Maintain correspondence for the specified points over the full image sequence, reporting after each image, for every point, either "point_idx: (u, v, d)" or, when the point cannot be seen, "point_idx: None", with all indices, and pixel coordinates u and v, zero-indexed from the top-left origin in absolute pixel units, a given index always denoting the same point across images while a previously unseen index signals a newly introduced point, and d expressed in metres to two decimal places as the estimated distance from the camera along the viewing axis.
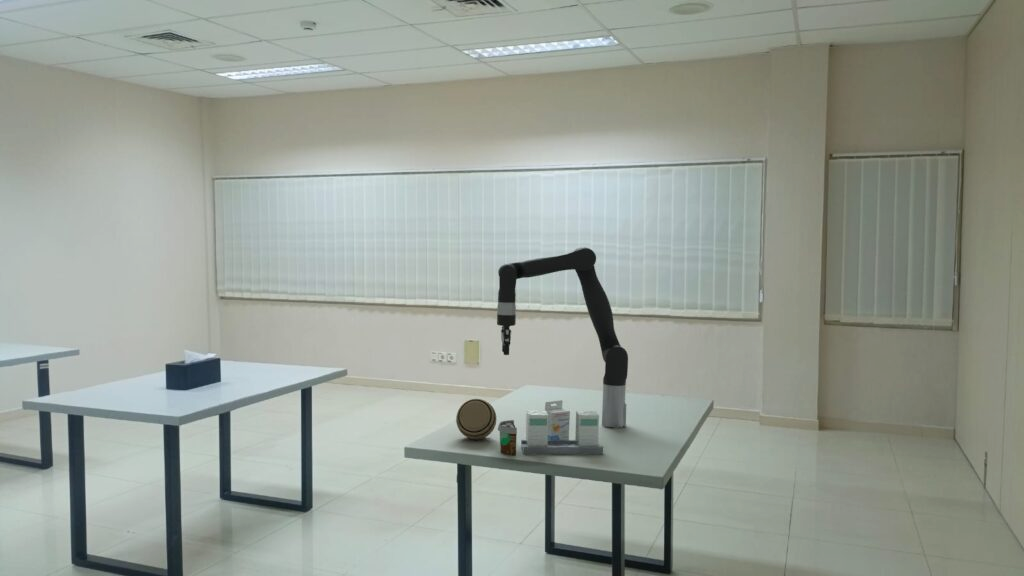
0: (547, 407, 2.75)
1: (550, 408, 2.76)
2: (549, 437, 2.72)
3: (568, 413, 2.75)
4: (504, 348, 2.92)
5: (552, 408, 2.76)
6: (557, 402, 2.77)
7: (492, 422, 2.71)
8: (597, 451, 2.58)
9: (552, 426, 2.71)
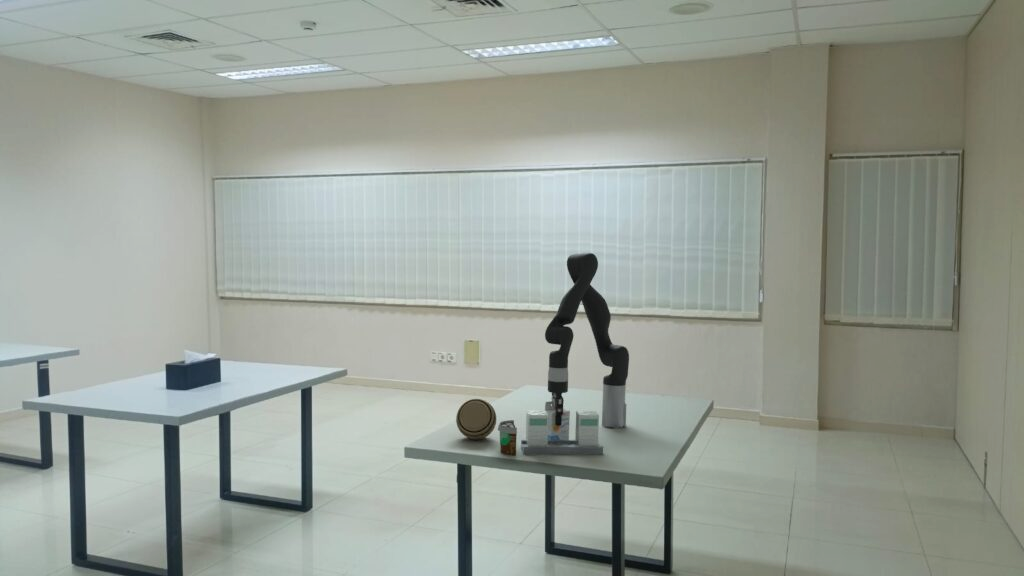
0: (547, 407, 2.75)
1: (550, 408, 2.76)
2: (549, 437, 2.72)
3: (568, 413, 2.75)
4: (556, 418, 2.71)
5: (552, 408, 2.76)
6: None
7: (492, 422, 2.71)
8: (597, 451, 2.58)
9: (552, 425, 2.71)
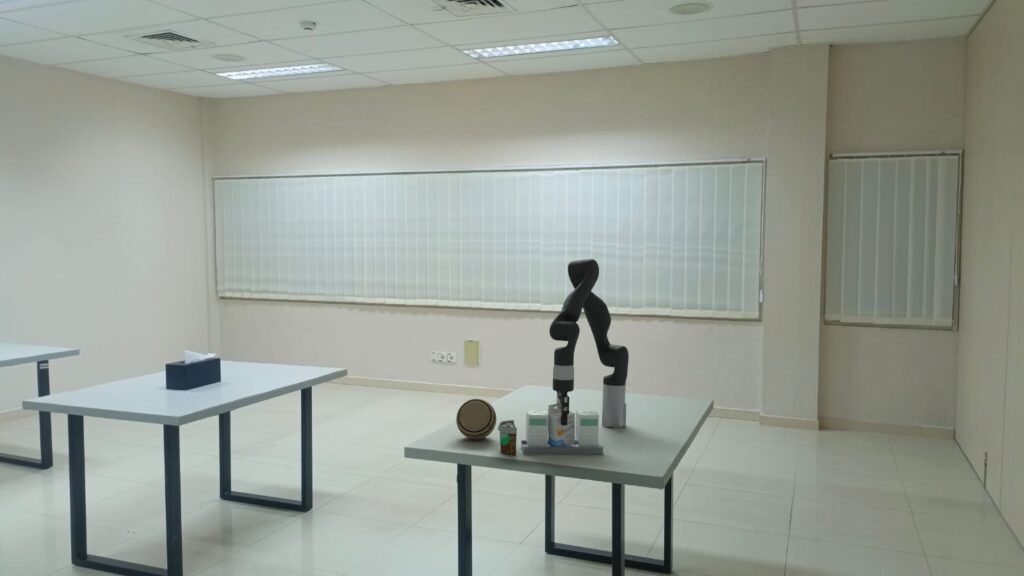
0: (550, 410, 2.61)
1: (554, 411, 2.62)
2: (553, 442, 2.59)
3: (573, 416, 2.60)
4: (562, 418, 2.57)
5: (556, 410, 2.62)
6: None
7: (492, 422, 2.71)
8: (597, 451, 2.58)
9: (556, 430, 2.58)
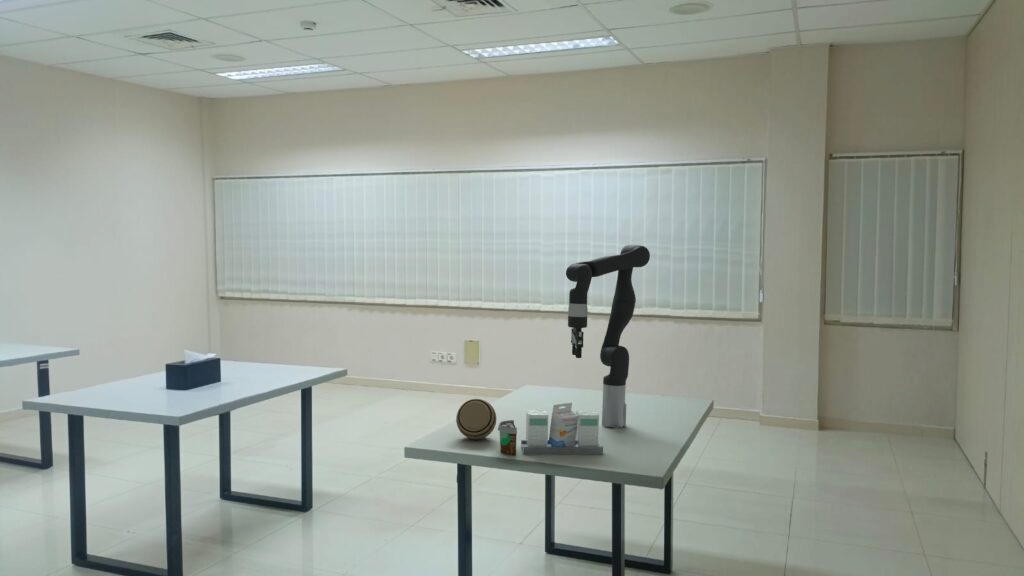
0: (555, 410, 2.60)
1: (558, 411, 2.61)
2: (554, 442, 2.59)
3: (576, 418, 2.60)
4: (576, 351, 2.83)
5: (560, 411, 2.61)
6: (566, 405, 2.62)
7: (492, 422, 2.71)
8: (597, 451, 2.58)
9: (558, 431, 2.57)
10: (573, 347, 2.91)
